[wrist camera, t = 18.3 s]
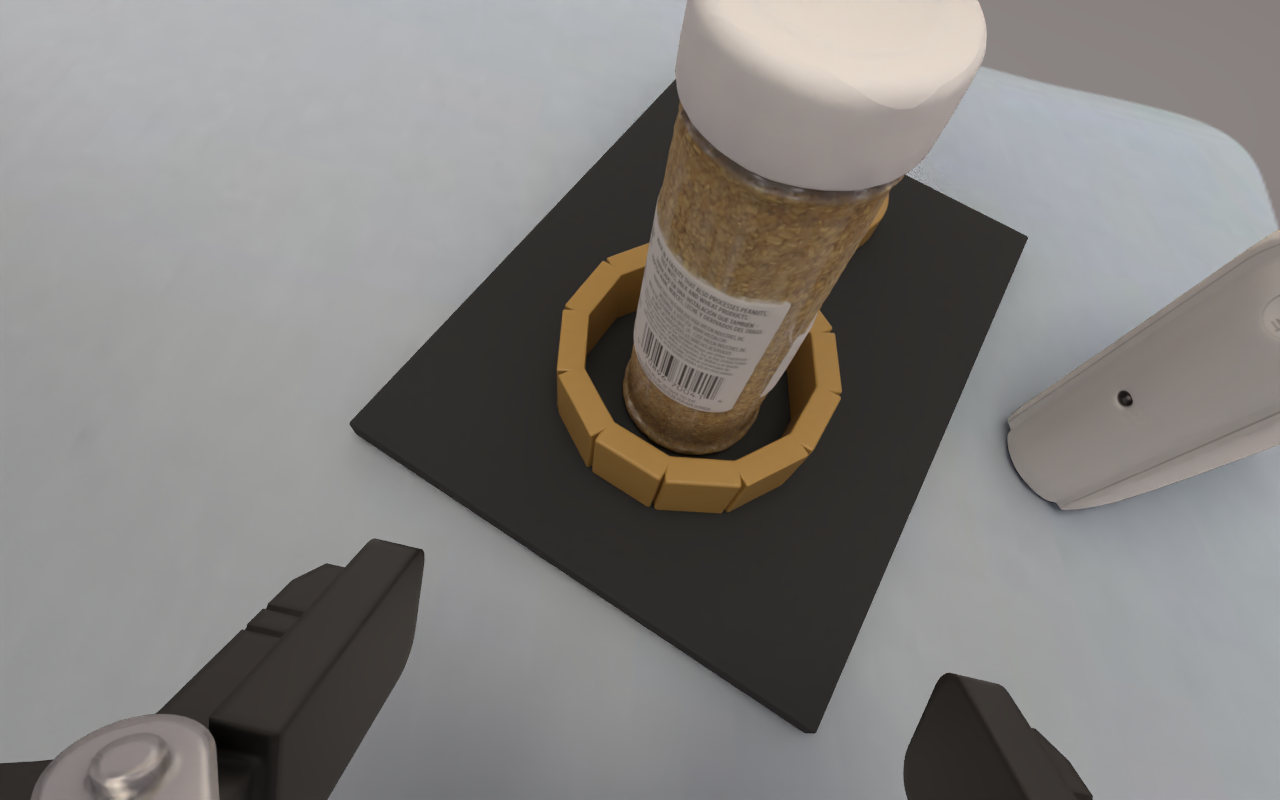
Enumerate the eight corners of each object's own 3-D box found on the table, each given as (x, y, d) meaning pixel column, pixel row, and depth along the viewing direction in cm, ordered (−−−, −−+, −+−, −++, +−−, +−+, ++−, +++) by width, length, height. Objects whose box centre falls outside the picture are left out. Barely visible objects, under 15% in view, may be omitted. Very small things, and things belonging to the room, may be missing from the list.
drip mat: (355, 433, 21) (347, 423, 20) (685, 80, 30) (688, 64, 29) (805, 734, 18) (816, 734, 17) (1016, 249, 27) (1029, 236, 26)
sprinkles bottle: (783, 414, 22) (1063, 29, 10) (673, 486, 20) (841, 136, 8) (700, 314, 23) (853, -131, 11) (591, 374, 22) (631, -66, 10)
